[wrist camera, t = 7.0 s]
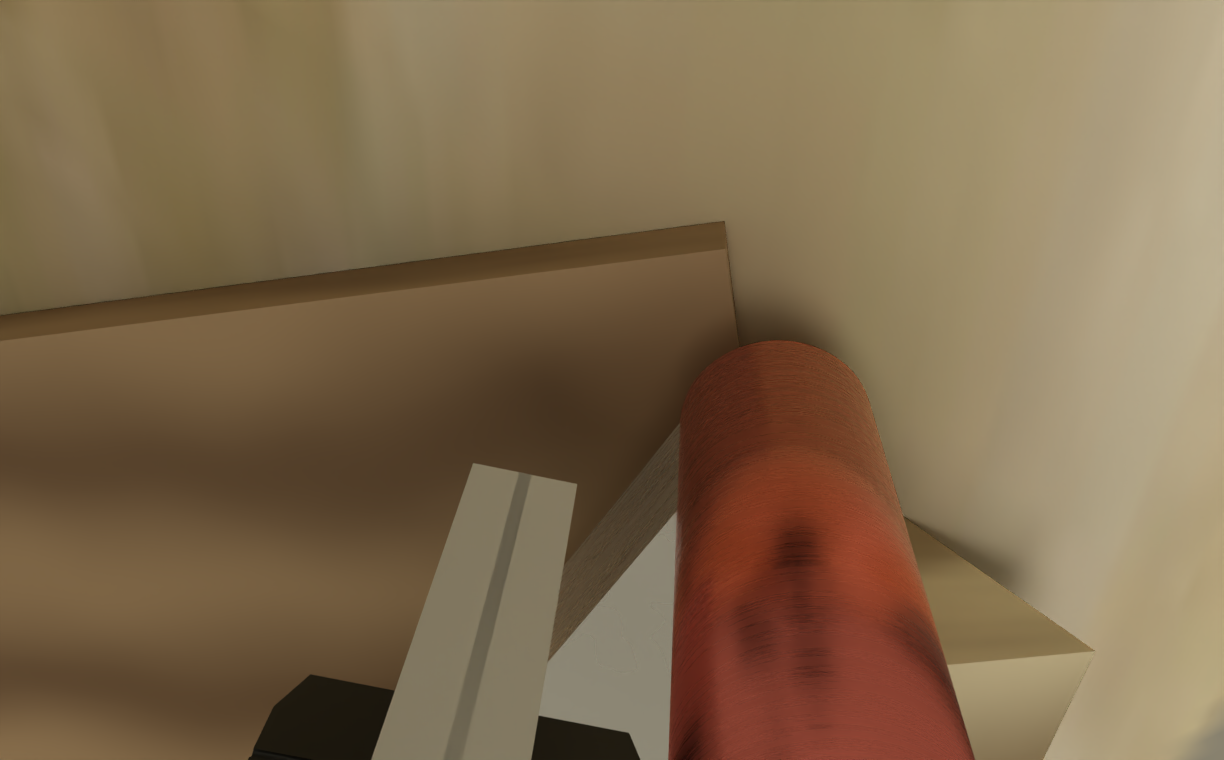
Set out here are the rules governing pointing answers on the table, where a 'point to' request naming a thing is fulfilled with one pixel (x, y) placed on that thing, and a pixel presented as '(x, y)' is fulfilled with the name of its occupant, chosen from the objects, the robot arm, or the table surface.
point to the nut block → (998, 655)
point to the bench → (306, 469)
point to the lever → (758, 585)
